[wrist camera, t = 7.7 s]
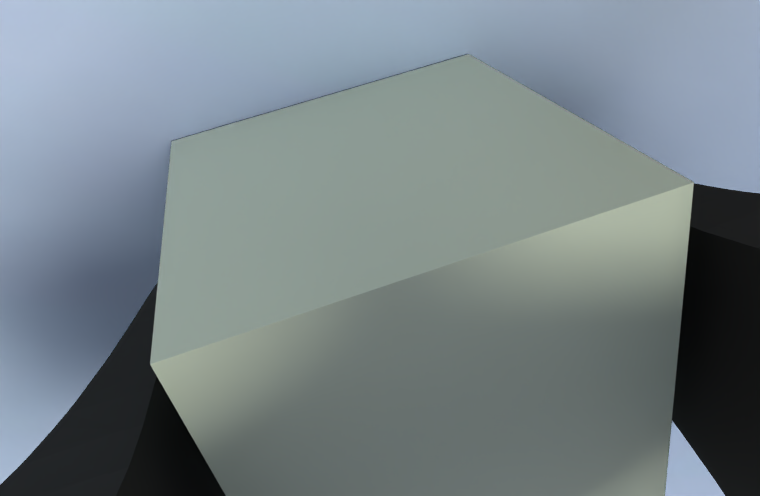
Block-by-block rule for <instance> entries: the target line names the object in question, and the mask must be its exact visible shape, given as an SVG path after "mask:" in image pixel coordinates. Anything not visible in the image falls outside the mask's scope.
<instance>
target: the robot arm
mask: <svg viewBox="0 0 760 496" xmlns="http://www.w3.org/2000/svg"><path fill="white" fill-rule="evenodd" d="M157 286H158V283H157V284H156V286H155V287H154V289H153V290H152V292H151V293H150V295H149V296H148V298H147V299H146V301H145V302H144V304H143V305H142V307H141V309H140V310H139V312H138V313H137V315H136V317H135V318H134V320H133V321H132V323H131V324H130V326H129V327H128V329H127V330H126V332H125V333H124V335H123V336H122V338H121V339H120V341H119V342H118V344H117V346H116V347H115V349H114V350H113V352H112V353H111V355H110V356H109V357H108V359H107V360H106V362H105V363H104V364H103V366H102V367H101V368H100V370H99V371H98V372H97V374H96V375H95V376H94V378H93V379H92V381H91V382H90V383H89V385H88V386H87V387H86V389H85V390H84V391H83V393H82V394H81V395H80V397H79V398H78V400H77V401H76V402H75V403H74V405H73V406H72V407H71V408H70V410H69V411H68V412H67V413H66V415H65V416H64V417H63V418H62V419H61V421H60V422H59V423H58V424H57V425H56V426H55V428H54V429H53V430H52V431H51V432H50V433H49V434H48V436H47V437H46V438H45V439H44V440H43V441H42V442H41V443H40V444H39V446H38V447H37V448H36V449H35V450H34V451H33V452H32V453H31V455H30V456H29V457H28V458H27V459H26V460H25V461H24V462H23V463H22V464H21V465H20V466H19V467H18V468H17V469H16V470H15V471H14V472H13V473H12V474H11V475H10V476H9V477H8V478H7V479H6V480H5V481H4V482H3V483H2V484H1V485H0V496H226V495H225V493H224V492H223V490H222V488H221V486H220V485H219V483H218V481H217V479H216V478H215V476H214V474H213V473H212V471H211V469H210V467H209V466H208V464H207V462H206V460H205V459H204V457H203V455H202V453H201V452H200V450H199V448H198V447H197V445H196V443H195V441H194V440H193V438H192V436H191V434H190V433H189V431H188V429H187V428H186V426H185V424H184V422H183V421H182V419H181V417H180V415H179V414H178V412H177V410H176V408H175V407H174V405H173V403H172V402H171V400H170V398H169V396H168V395H167V393H166V391H165V389H164V388H163V386H162V384H161V383H160V381H159V379H158V377H157V376H156V374H155V372H154V370H153V369H152V367H151V365H150V359H151V349H152V338H153V328H154V318H155V307H156V297H157ZM672 421H673V422H674V423H675V425H676V426H677V427H678V429H679V430H680V431H681V433H682V434H683V436H684V437H685V438H686V440H687V441H688V443H689V444H690V445H691V447H692V448H693V450H694V451H695V452H696V454H697V455H698V457H699V458H700V460H701V461H702V462H703V464H704V465H705V467H706V468H707V469H708V471H709V472H710V474H711V475H712V476H713V478H714V479H715V481H716V482H717V484H718V485H719V487H720V488H721V490H722V491H723V493H724V494H725V496H760V194H759V193H750V192H742V191H735V190H728V189H722V188H716V187H711V186H705V185H699V184H694V187H693V197H692V208H691V219H690V230H689V240H688V251H687V262H686V273H685V283H684V294H683V305H682V316H681V326H680V337H679V348H678V359H677V369H676V380H675V391H674V402H673V412H672Z"/></svg>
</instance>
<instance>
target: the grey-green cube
mask: <svg viewBox="0 0 760 496" xmlns="http://www.w3.org/2000/svg"><path fill="white" fill-rule="evenodd" d="M693 187H694V182H692V181H690V180H689V179H687V178H685V177H683V176H682V175H680V174H678V173H676V172H675V171H673V170H671V169H669V168H668V167H666V166H664V165H662V164H661V163H659V162H657V161H655V160H654V159H652V158H650V157H648V156H647V155H645V154H643V153H641V152H640V151H638V150H636V149H634V148H633V147H631V146H629V145H627V144H626V143H624V142H622V141H620V140H619V139H617V138H615V137H613V136H612V135H610V134H608V133H606V132H605V131H603V130H601V129H599V128H598V127H596V126H594V125H592V124H591V123H589V122H587V121H585V120H584V119H582V118H580V117H578V116H577V115H575V114H573V113H571V112H569V111H568V110H566V109H564V108H562V107H561V106H559V105H557V104H555V103H554V102H552V101H550V100H548V99H547V98H545V97H543V96H541V95H540V94H538V93H536V92H534V91H533V90H531V89H529V88H527V87H526V86H524V85H522V84H520V83H519V82H517V81H515V80H513V79H512V78H510V77H508V76H506V75H505V74H503V73H501V72H499V71H498V70H496V69H494V68H492V67H491V66H489V65H487V64H485V63H484V62H482V61H480V60H478V59H477V58H475V57H473V56H471V55H470V54H467V55H463V56H460V57H457V58H453V59H450V60H446V61H443V62H440V63H436V64H433V65H429V66H426V67H423V68H419V69H416V70H412V71H409V72H406V73H402V74H399V75H395V76H392V77H388V78H385V79H382V80H378V81H375V82H371V83H368V84H365V85H361V86H358V87H354V88H351V89H348V90H344V91H341V92H337V93H334V94H331V95H327V96H324V97H320V98H317V99H313V100H310V101H307V102H303V103H300V104H296V105H293V106H290V107H286V108H283V109H279V110H276V111H273V112H269V113H266V114H262V115H259V116H256V117H252V118H249V119H245V120H242V121H238V122H235V123H232V124H228V125H225V126H221V127H218V128H215V129H211V130H208V131H204V132H201V133H198V134H194V135H191V136H187V137H184V138H181V139H177V140H174V141H171V151H170V162H169V172H168V182H167V193H166V203H165V214H164V224H163V234H162V245H161V255H160V266H159V276H158V286H157V297H156V307H155V318H154V328H153V338H152V349H151V359H150V365H151V367H152V369H153V370H154V372H155V374H156V376H157V377H158V379H159V381H160V383H161V384H162V386H163V388H164V389H165V391H166V393H167V395H168V396H169V398H170V400H171V402H172V403H173V405H174V407H175V408H176V410H177V412H178V414H179V415H180V417H181V419H182V421H183V422H184V424H185V426H186V428H187V429H188V431H189V433H190V434H191V436H192V438H193V440H194V441H195V443H196V445H197V447H198V448H199V450H200V452H201V453H202V455H203V457H204V459H205V460H206V462H207V464H208V466H209V467H210V469H211V471H212V473H213V474H214V476H215V478H216V479H217V481H218V483H219V485H220V486H221V488H222V490H223V492H224V493H225V495H226V496H665V488H666V477H667V466H668V455H669V445H670V434H671V423H672V412H673V402H674V391H675V380H676V369H677V359H678V348H679V337H680V326H681V316H682V305H683V294H684V283H685V273H686V262H687V251H688V240H689V230H690V219H691V208H692V197H693Z"/></svg>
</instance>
